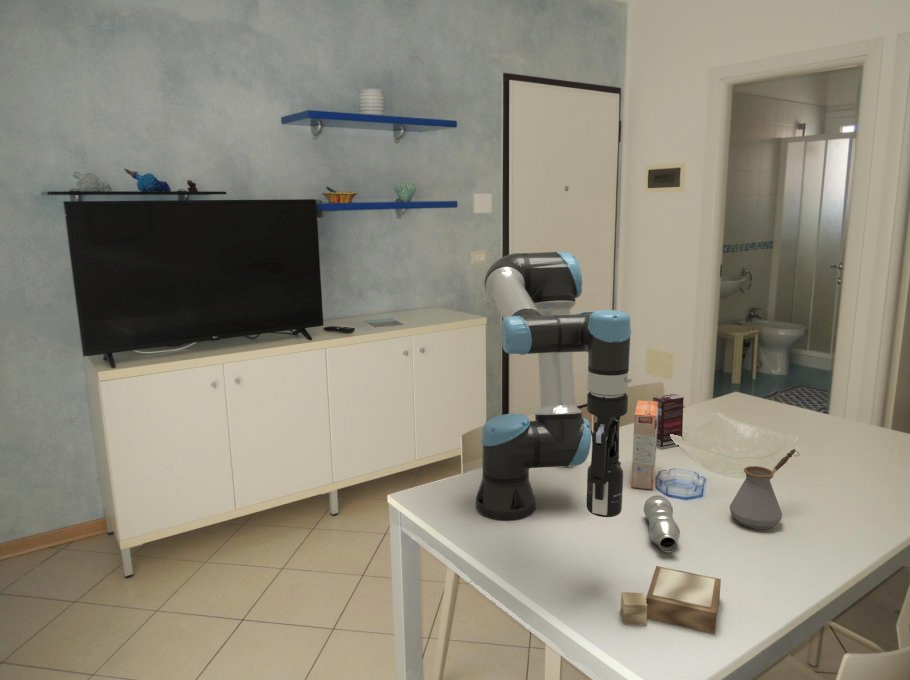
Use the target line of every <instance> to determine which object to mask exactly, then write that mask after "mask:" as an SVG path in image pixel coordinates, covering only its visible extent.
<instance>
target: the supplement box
mask: <svg viewBox="0 0 910 680" xmlns="http://www.w3.org/2000/svg"><path fill="white" fill-rule="evenodd" d="M652 401H655V402H658V427H657V444H656V449H659V450H665V449H669V448H674V447H677V446H676V444H675V443H674V441H673V440H672V439H671V437H670V434H674V435H678V436H681V437H682V438H683V427H684V426H683V424H684V423H683V422H684V396H681V395H679V394H675V393H670V394H666V395H662V396H661V395H660V396H654V397H652Z"/></svg>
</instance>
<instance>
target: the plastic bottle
mask: <svg viewBox="0 0 910 680" xmlns="http://www.w3.org/2000/svg"><path fill="white" fill-rule="evenodd" d="M643 505H644V506H643V513H644V515H645V518H646V519H647V521H648V523H649V526H648V527H649V528H648V534H649V538H650V540H651V541H652V542H653V543H654V544H655V545H657V546H658V547H659V548H660V549H661V550H662V551H663V552H665V553H672V552H674V551H676V549H677V547H678V541H679V539H680V535H681V531H680V528H679V526H678V524H677V523H676V521H675V520H674V518H673V513H674V511H673V509H674V508H673V505H672V503H671V502H670V500H669V499H668V498H667V497H665V496H663V495H652V496H650V497H649V498H648V497H647V499H646V501H645V502H644V504H643Z"/></svg>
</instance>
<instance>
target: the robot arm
mask: <svg viewBox="0 0 910 680" xmlns="http://www.w3.org/2000/svg"><path fill="white" fill-rule="evenodd" d="M483 281H484V282H483V284H484V289H485V292H486V295H487V297H488V298H489V299H490V300H491V301H492V302H493V303H495V304H496V307H497V308H498V310H499V312H500V314H501V317H502V321H501V326H500V327H501V328H500V339H501V345H502V349H503V352H505V353H506V354H508V355H509V354H510V355H522V356H523V355H533V354H534V355H535V354H537V355H538V356H537V358H538V361H537V362H538V374H539V375H538V376H539V396H540V397H539V399H540V400H539V401H540V406H539V408H538V410H536V412H535V414H534V416H535V420H531V419H529V416H527V415H525V414H522V413H518V414H517V413H506V414H505V413H504V414H500V415H497V416H495V417H492V418H490V419H488V420H487V421H486V422H484V425H483V427H482V431H481V432H482V435H481V441H480V442H481V445H482V447H481V448H482V449H481V450H482V454H481V455H482V459H481V460H482V461H481V462H482V466H481V467H482V476H481V477H482V478H481V481H480V485H479V488H478V490H477V494H476V496H475V507H476V508H475V509H476V510H477V512H478V513H480V514H481V515H482V516H484V517H487V518H488V519H489V518H490V519H494V520H499V521H501V520H502V521H514V520H520V519H524V518H527V517H528V516H531V515H532V514H534V512H535V511H536V507H537V505H536V501H537V499H536V496H535V493H534V490H533V486H532V484H531V480H530V477H529V476H530V475H529V474H530V469H539V468H541V469H542V468H556V467H559V468H560V467H564V468H570V467H569V466H573V467H574V466H579V465H582V464H583V463H585V462H586V460H587V459H588V457H589V454H590V449H591V462H590V463H591V464H590V465H591V477H590V478H589V482H591V483H593V503H592V513H595V514H601V515H607V504H608V482H607V472H608V463H609V453H610V450H614V451H616V452H617V453H618V454H619V455H620V422H621V417H623V416H625V415H626V414H627V413H628V402H629V401H628V400H629V398H628V397H629V395H628V394H627V393H628V391H629V383H631V382H632V377H630V376H629V370H630V350H631V349H630V348H631V335H632V329H631V317H630V314H629V313H627V312H625V311H623V310H622V311H621V310H620V311H619V310H615V309H602V310H595V311H588V310H586V311H585V310H584V311H580V312H578V313H576V314H571V310H572V308H573V307H574V306H575V305H576V299H577V298H579V297H581V294H582V293H583V287H582V286H583V275H582V270H581V267H580V264H579V261H578V259H577V257H576V256H575V255H574V254H572V253H570V252H561V251H560V252H558V251H547V252H516V253H515V252H514V253H510V254H507V255H504V256H502V257H500V258H499V259H497V260H496V261H495V262H494V263H492V264H491V266H490V267H489V268H488V269H487V271H486V274H485V277H484V280H483ZM580 352H584V353H585V352H586V353H588V354H587V355H588V356H587V357H588V358H587V363H588V364H587V383H586V384H587V391H588V393H587V395H586V397H587V398H586V399H587V400H586V410H587V412H588V413H589V414H591V415H592V416H593V415H594V416H596V418H597V420H596V422H594V424H593V425H594V426H593V431H592V430H591V425H590V422H589V420H588V419H587V418H585V417H583V413H582V410H581V409H579V407H578V406H576V400H575V397H576V396H575V395H576V394H575V381H574V378H575V377H574V376H575V375H574V361H573V353H580ZM618 465H619V466H620V467H621V465H622V462H621V461H619V464H618Z"/></svg>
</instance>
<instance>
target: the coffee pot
mask: <svg viewBox="0 0 910 680" xmlns="http://www.w3.org/2000/svg"><path fill="white" fill-rule="evenodd" d="M795 452H796V453H797V454H798V455H797V457H799V456H800V455H801V454H800V452H799V451H797V450H796V449H794V448H793V449H791V450H790V451H789V452H787V454H786V455H785V456H784V457H782V458H781V459H780V460H779V462H777V464H776V465H775V466H774V468H773V469H772V470H771V469H769V468H767V467H764V466H755V465H752V466H751V465H749V466H746V467H744V468H743V473H745V477H746V478H745V479H744V481H743V482H742V484H741V486H740V487H739V489H738V490H737V492H736V494H735V496H734V498H733V500H732V501H731V502H730V504H729V511H730V513H731V515H732V516H733V517H734V519H735V520H737V522H738V523H740V524H741V525H742V526H744V527H747V528H750V529H753V530H754V529H755V530H766V529H767V530H768V529H770V528H772V527H773V526H775V525H777V524H778V523H780V521H781V520H782V517H783V512H782V509H781V506H780V505H779V501H778V499H777V496H776V493H775V491H774V488H773V486H772V482H771V479H772V478H774V475H775V473H776V472H778V470H780V468H782V467H784V465H785V464H786V463H787V462H788V461H789V459H790V458H793V456H794V457H796V455H795Z"/></svg>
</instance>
